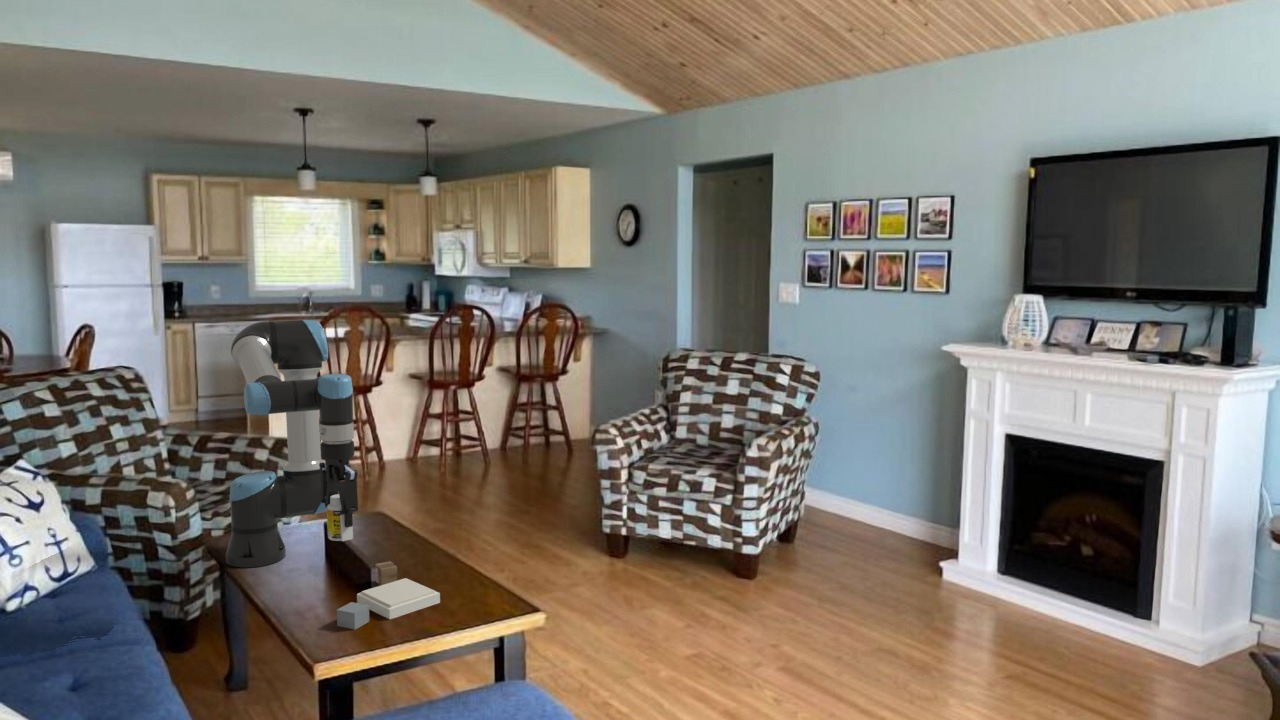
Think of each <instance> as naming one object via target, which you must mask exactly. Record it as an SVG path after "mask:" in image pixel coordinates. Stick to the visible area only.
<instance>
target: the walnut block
mask: <svg viewBox="0 0 1280 720" xmlns="http://www.w3.org/2000/svg"><path fill="white" fill-rule="evenodd" d="M375 567H377V568H378V572H379V582H380V586H381V585H384V584H388V583H391V582H394V581H398V566H397V565H395V564H394V562H392V561H391V560H390V561H385V562H379V563H375Z"/></svg>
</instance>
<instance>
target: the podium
mask: <svg viewBox="0 0 1280 720" xmlns="http://www.w3.org/2000/svg"><path fill="white" fill-rule="evenodd" d="M356 603H359V604H364V605H369V611H372V612H374V613H375V614H378V615H380V616H382V617H384V618H386V619H387V620H393V619H396V618H399V617H402V616H404V615H405V616H406V615H407V614H410V613H413V612H416V611H419V610H422V609H425V608H428V607H432V606H433V605H434V606H435V605H438V604H440V603H441V592H438V591H436V590H434V589H432V588H429V587H428V586H425V585H422V584H421V583H418V582H416V581H415V580H414V581H413V580H411V579H408V578H407V577H405V578H401V579H397V581H394V582H391V583H388V584H384V585H381V586H379V585H378V586H373V587H372V588H368V589H365V590H361V592H359V593H357V594H356Z"/></svg>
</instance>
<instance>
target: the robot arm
mask: <svg viewBox="0 0 1280 720" xmlns="http://www.w3.org/2000/svg"><path fill="white" fill-rule="evenodd" d="M328 346H329V345H328V341H327V337H326V333H325V330H324V328H323V326H322V324H321V323H320V322H319V321H317V320H312V319H309V320H308V319H297V320H294V319H293V320H272V321H267V320H266V321H258V322H255V323H252V324H249V325H248V326H246V327H244V328H243V329H242V330H241V331H239V332H238V334H236V336H235V337H234V339H233V340H232V342H231V347H230V351H231V352H230V354H231V357H232V359H233V362H234V363H235V364H236V366H237V367H238V368H241V371H242V374H243V376H244V378H245V381H246V383H247V384H246V385H245V386H244V388H243V402H244V409H245V412H246V413H247V414H248V415H251V416H253V415H254V416H255V415H258V416H259V415H261V416H266V415H273V414H274V415H276V414H285V420H286V438H287V456H288V457H287V458H288V462H287V463H286V464H285V466H284V467H283V468H282V473H283V474H282V475H277V474H276V473H275V471H272V470H261V471H260V470H259V471H253V472H249V473H245V474H243V475H241V476H238V477H236V478H235V479H233V480H232V482H231V483H230V486H229V487H230V488H229V497H228V498H229V501H230V520H231V523H230V524H231V525H230V526H231V535H230V538H229V541H228V545H227V549H226V552H225V563H226V564H227V565H229V566H231V567H235V568H257V567H264V566H269V565H272V564H276V563H278V562H280V561H281V560H283V559H284V558H286V556H287V555H286V546H285V543H284V540H283V539H282V538H283V537H282V536H281V534H280V531H279V527H278V526H279V525H278V523H279V522H278V520H279V519H286V518H294V517H301V516H309V515H311V516H315V515H316V514H321V513H327V506H328V505H329V504H330V497H331V496H332V495H336V494H339V496H340V502H341V508H342V512H340V513H339V514H340V526H341V541H340V542H346V541H349V540H353V539H354V528H353V527H354V523H353V519H354V518H353V514H354V513H355V512H358V511H359V499H358V482H357V479H358V470H357V469H354V470H353V469H351V464H350V459H351V458H353V457H354V456H355V441H353V439H354V438H355V433H354V432H355V430H354V429H355V428H354V409H353V408H354V407H353V406H354V404H353V402H354V401H353V392H354V388H353V382H352V381H353V380H352V376H351V375H348V374H344V373H332V374H329V373H328V374H324V375H322V376H318V374H319V372H320V371H321V370H322V369H323V363H325V362H327V361H328V359H329V347H328ZM276 365H277V368H276ZM280 374H282V376H283V378H284V379H283V380H282V378H281V375H280ZM324 460H325V461H324ZM326 523H327V525H326V526H327V527H326V529H327V530H328V522H326Z"/></svg>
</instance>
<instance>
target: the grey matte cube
mask: <svg viewBox="0 0 1280 720" xmlns="http://www.w3.org/2000/svg"><path fill="white" fill-rule="evenodd" d="M369 622H370V609H369V605H364V604H359V603H357V602H353V601H352V602H349V603H347V604H345V605H343V606H341V607H339V608H337V609H336V626H337V627H340V628H343V629H344V628H346V629H351V630H354V631H355V630H357V629H359V628H361V627H362V626H364V625H366V624H367V623H368V624H369Z"/></svg>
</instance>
